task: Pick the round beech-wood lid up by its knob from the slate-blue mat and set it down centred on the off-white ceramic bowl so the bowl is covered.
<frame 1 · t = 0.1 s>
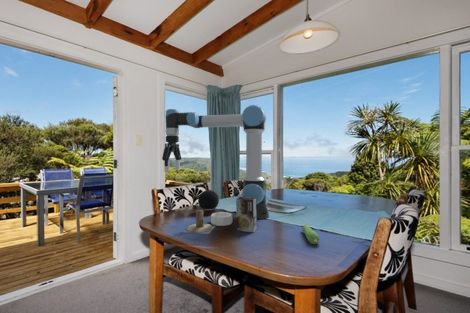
hand: (172, 171, 145), 28 cm above the table, fingers open, 13 cm apart
green oval lump: (309, 238, 110), on the table
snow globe: (208, 213, 156), on the table
coffee box: (246, 230, 122), on the table
mat: (199, 230, 122), on the table
lid: (199, 229, 122), point 1 cm above the table, touching mat
bowl: (221, 223, 133), on the table
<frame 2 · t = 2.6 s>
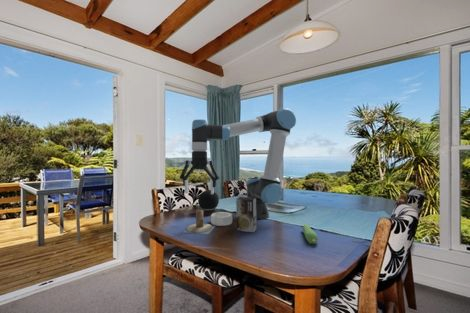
hand: (199, 193, 122), 18 cm above the table, fingers open, 13 cm apart
nothing on the table moved.
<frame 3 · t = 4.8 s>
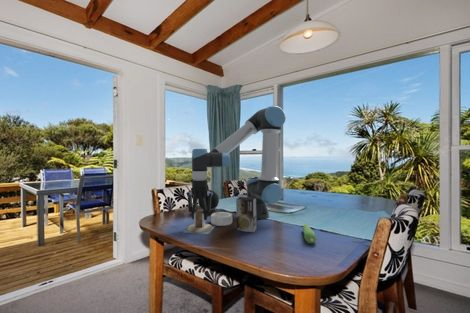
hand: (199, 226, 122), 2 cm above the table, fingers closed on lid, 3 cm apart
lid: (199, 229, 122), point 1 cm above the table, touching gripper, mat
everything else where it was.
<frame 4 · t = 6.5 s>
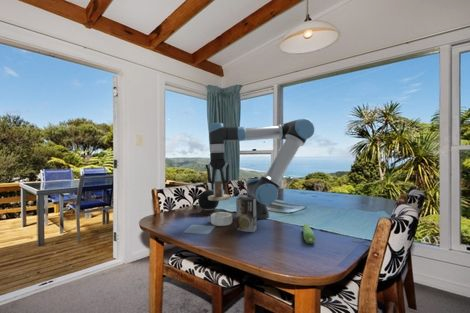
hand: (219, 195, 130), 16 cm above the table, fingers closed on lid, 3 cm apart
lid: (219, 198, 130), point 14 cm above the table, touching gripper
everything else where it was.
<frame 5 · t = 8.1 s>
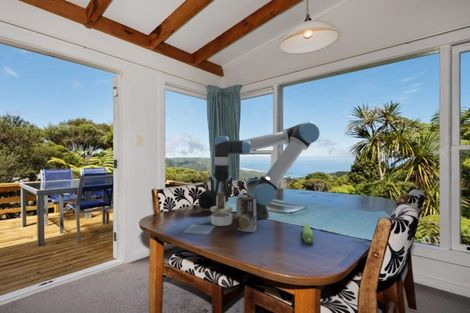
hand: (221, 207, 133), 9 cm above the table, fingers closed on lid, 3 cm apart
lid: (221, 210, 133), point 7 cm above the table, touching gripper
when the fingers open (8 cm above the table, at t = 8.6 s): lid drops 1 cm, resting on bowl.
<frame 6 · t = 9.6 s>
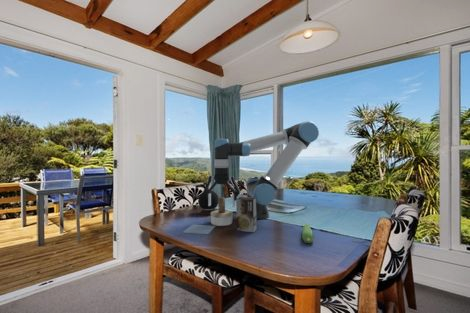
hand: (221, 206, 133), 10 cm above the table, fingers open, 13 cm apart
lid: (221, 214, 133), point 5 cm above the table, touching bowl
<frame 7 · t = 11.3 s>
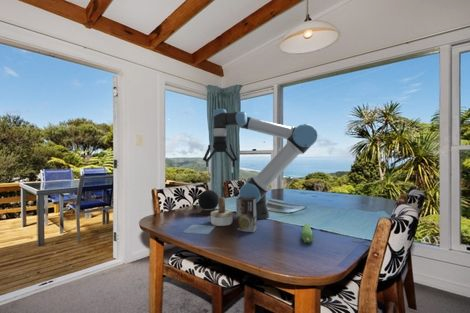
hand: (220, 172, 141), 27 cm above the table, fingers open, 13 cm apart
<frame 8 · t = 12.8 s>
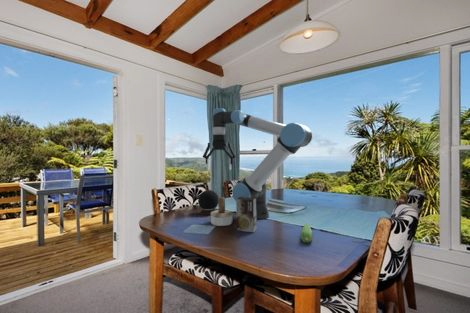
hand: (219, 169, 147), 29 cm above the table, fingers open, 13 cm apart
at the end: lid 0.1 cm off-centre on the bowl, point 5.0 cm above the bowl's base; lid tilted 0°; the gripper is holding nothing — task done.
